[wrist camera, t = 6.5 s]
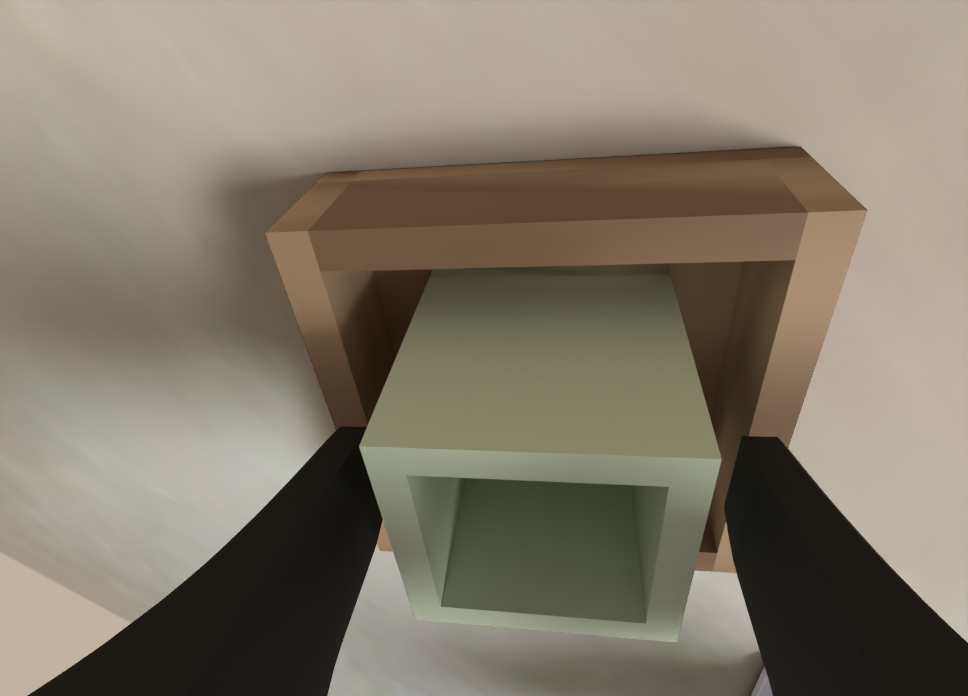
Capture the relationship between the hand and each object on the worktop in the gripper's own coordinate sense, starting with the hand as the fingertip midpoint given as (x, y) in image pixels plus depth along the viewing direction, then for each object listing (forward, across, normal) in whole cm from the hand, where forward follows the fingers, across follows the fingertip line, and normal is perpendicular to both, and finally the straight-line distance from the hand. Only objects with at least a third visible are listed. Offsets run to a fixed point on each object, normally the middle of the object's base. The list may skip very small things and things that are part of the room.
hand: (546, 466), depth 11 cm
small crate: (+3, 0, 0) cm, 3 cm away
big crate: (+4, 0, 0) cm, 4 cm away
